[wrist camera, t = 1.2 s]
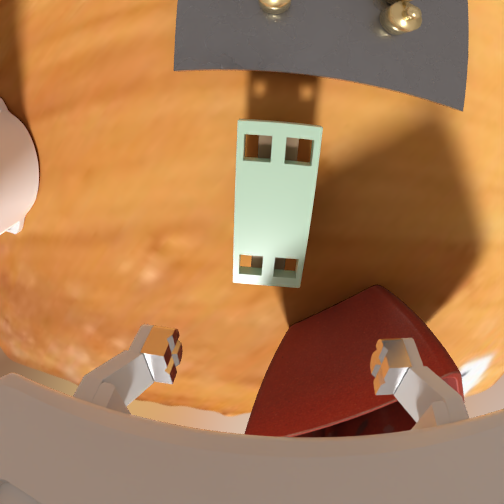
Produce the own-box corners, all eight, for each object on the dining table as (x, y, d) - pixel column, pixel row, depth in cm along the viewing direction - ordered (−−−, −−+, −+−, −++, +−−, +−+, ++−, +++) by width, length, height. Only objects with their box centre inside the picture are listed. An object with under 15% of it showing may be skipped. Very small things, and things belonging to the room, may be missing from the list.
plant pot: (396, 245, 30) (462, 370, 15) (432, 341, 37) (467, 439, 23) (250, 319, 36) (234, 447, 22) (319, 390, 44) (325, 487, 29)
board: (298, 280, 28) (299, 287, 27) (234, 274, 28) (232, 282, 27) (320, 125, 21) (322, 127, 20) (239, 118, 21) (237, 120, 20)
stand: (254, 245, 31) (251, 267, 28) (261, 126, 25) (259, 132, 21) (283, 247, 31) (284, 269, 28) (295, 129, 25) (299, 135, 21)
